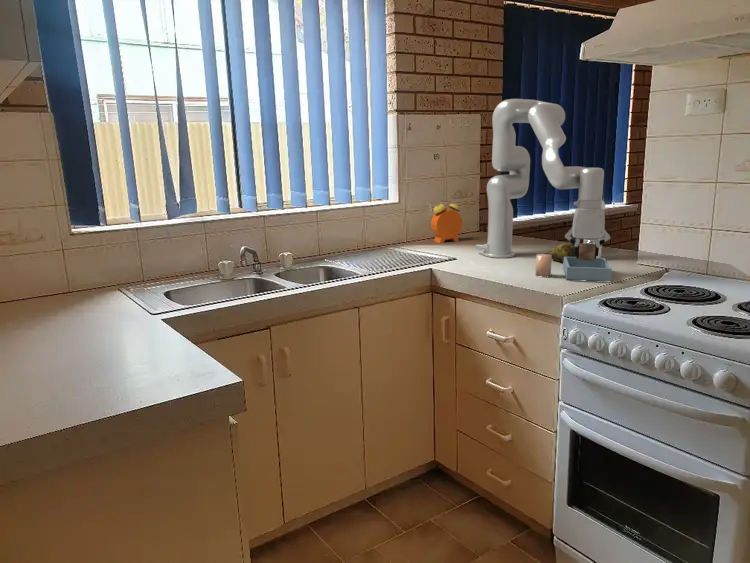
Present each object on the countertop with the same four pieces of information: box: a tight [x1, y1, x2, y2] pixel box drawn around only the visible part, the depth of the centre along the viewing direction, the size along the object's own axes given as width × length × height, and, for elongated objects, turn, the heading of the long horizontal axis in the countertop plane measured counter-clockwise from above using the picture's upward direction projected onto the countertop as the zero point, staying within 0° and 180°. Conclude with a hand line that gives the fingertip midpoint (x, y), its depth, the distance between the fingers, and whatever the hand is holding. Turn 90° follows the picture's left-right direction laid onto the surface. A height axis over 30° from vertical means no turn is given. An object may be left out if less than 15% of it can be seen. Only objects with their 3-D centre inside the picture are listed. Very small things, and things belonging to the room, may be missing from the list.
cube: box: [578, 242, 595, 261], centre depth 197 cm, size 5×5×5 cm
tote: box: [562, 257, 613, 282], centre depth 195 cm, size 14×18×4 cm
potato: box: [548, 242, 576, 263], centre depth 215 cm, size 8×13×8 cm, turn 2°
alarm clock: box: [430, 197, 463, 244], centre depth 262 cm, size 13×6×20 cm, turn 113°
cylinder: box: [534, 253, 553, 278], centre depth 195 cm, size 5×5×7 cm
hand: (585, 257), depth 198 cm, fingers closed on cube, 5 cm apart
